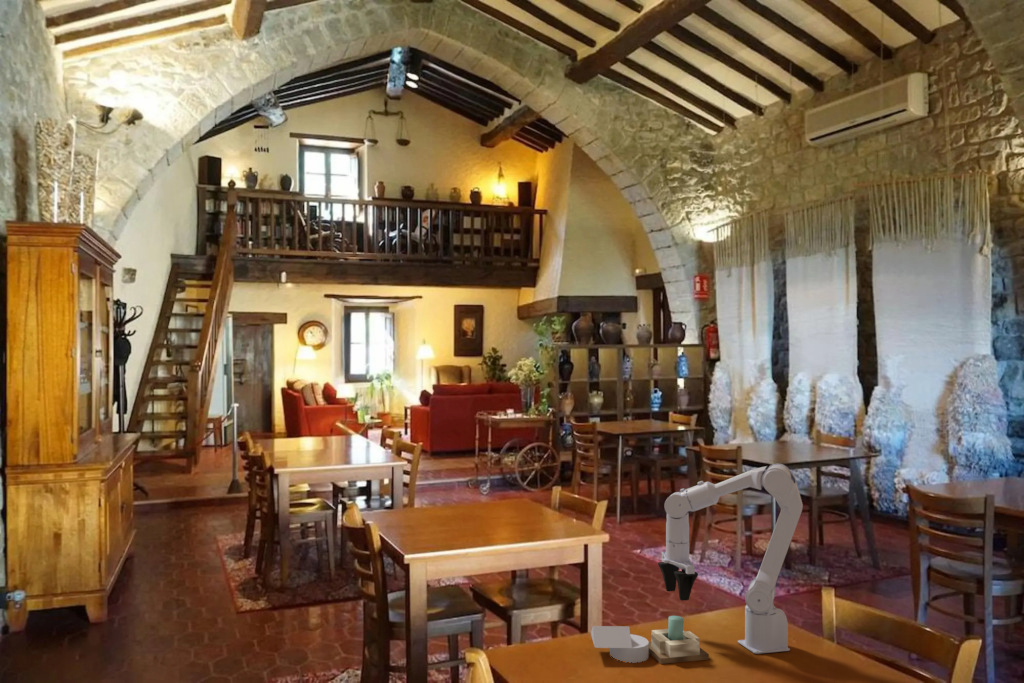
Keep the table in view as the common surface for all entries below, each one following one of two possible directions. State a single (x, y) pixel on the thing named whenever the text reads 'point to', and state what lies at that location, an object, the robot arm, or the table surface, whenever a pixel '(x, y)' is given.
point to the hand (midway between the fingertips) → (677, 595)
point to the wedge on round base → (621, 643)
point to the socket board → (675, 648)
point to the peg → (675, 628)
